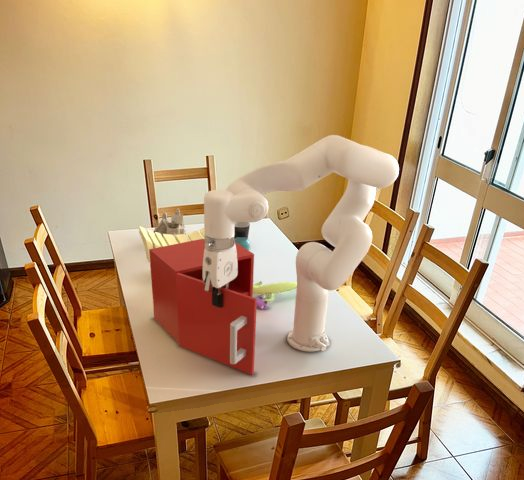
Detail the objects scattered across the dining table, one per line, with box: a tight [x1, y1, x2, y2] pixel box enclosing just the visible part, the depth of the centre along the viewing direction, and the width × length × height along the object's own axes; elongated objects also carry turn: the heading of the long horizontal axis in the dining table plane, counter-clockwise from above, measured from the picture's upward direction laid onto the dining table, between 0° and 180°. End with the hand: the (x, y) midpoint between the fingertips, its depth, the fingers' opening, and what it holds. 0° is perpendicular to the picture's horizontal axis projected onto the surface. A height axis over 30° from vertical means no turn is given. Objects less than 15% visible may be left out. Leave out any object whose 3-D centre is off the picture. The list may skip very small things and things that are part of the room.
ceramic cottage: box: [153, 207, 187, 244], centre depth 226 cm, size 16×16×15 cm
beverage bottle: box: [234, 228, 251, 251], centre depth 199 cm, size 6×7×20 cm
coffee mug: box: [234, 222, 251, 240], centre depth 231 cm, size 12×9×10 cm
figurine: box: [253, 281, 297, 310], centre depth 192 cm, size 18×27×6 cm
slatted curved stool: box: [138, 225, 205, 263], centre depth 202 cm, size 30×16×18 cm, turn 111°
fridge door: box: [176, 273, 257, 376], centre depth 152 cm, size 7×26×24 cm, turn 58°
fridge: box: [149, 238, 255, 344], centre depth 173 cm, size 18×26×24 cm
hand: (219, 304), depth 150 cm, fingers closed
